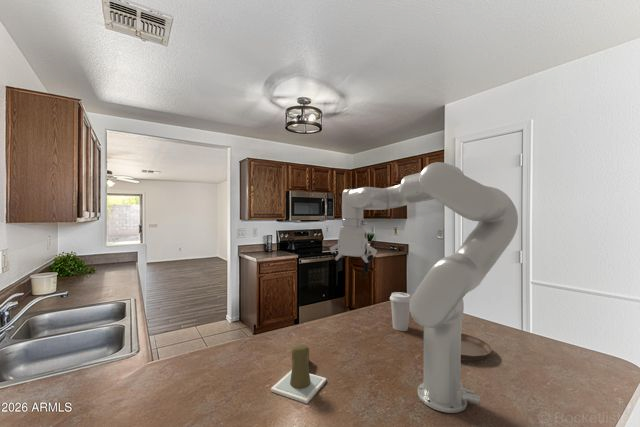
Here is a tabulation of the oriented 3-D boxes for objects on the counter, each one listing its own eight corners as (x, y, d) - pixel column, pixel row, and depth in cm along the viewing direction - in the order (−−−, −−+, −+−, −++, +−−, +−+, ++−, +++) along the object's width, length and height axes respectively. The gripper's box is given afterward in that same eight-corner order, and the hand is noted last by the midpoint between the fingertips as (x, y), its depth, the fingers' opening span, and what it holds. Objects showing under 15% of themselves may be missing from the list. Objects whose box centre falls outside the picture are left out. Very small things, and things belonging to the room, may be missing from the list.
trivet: (326, 380, 88) (326, 377, 88) (307, 403, 78) (307, 400, 78) (292, 371, 94) (292, 368, 94) (270, 391, 83) (270, 388, 83)
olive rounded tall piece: (307, 390, 82) (307, 351, 82) (287, 387, 83) (287, 349, 83) (312, 378, 88) (312, 342, 88) (293, 375, 89) (293, 340, 89)
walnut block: (309, 361, 100) (309, 346, 100) (306, 368, 95) (306, 353, 95) (294, 360, 101) (294, 345, 101) (292, 367, 96) (292, 352, 96)
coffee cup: (414, 332, 125) (414, 297, 125) (392, 332, 125) (392, 297, 125) (408, 324, 134) (408, 291, 134) (387, 324, 134) (387, 291, 134)
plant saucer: (450, 335, 123) (450, 327, 123) (502, 354, 106) (502, 345, 106) (418, 346, 112) (418, 338, 112) (471, 371, 95) (471, 361, 95)
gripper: (379, 224, 102) (379, 272, 102) (334, 223, 110) (334, 268, 110) (373, 224, 95) (373, 276, 95) (326, 223, 103) (325, 271, 103)
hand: (352, 272), depth 103 cm, fingers open, 9 cm apart
